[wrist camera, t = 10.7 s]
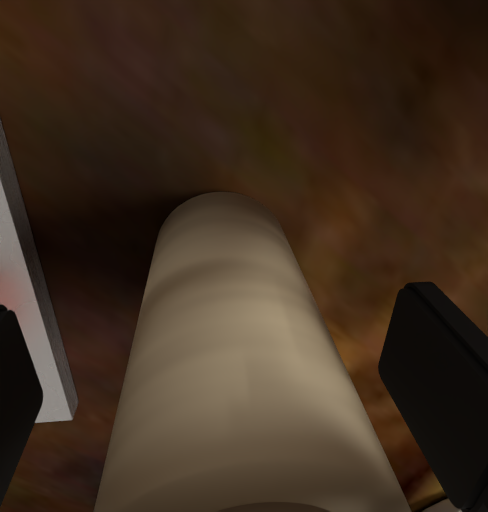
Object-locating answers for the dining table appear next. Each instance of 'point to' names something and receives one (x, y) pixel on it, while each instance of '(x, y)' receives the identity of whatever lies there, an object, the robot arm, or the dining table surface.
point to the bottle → (238, 382)
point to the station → (31, 297)
